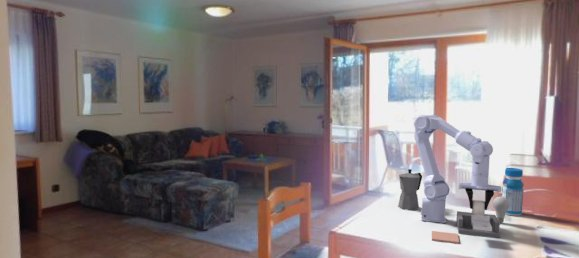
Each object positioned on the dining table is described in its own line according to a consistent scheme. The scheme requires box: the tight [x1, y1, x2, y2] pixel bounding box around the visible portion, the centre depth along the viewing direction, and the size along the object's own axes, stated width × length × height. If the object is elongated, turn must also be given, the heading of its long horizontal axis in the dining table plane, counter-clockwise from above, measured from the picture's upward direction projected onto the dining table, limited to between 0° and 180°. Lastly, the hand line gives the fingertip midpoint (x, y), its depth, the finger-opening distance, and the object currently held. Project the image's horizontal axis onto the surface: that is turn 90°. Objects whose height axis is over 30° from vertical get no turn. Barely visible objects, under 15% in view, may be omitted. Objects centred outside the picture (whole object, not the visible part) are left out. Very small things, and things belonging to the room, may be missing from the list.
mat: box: [431, 230, 460, 245], centre depth 148 cm, size 9×9×1 cm
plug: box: [471, 199, 486, 215], centre depth 155 cm, size 4×4×5 cm
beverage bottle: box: [501, 167, 525, 217], centre depth 180 cm, size 8×8×20 cm
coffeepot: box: [397, 168, 423, 211], centre depth 188 cm, size 15×9×18 cm, turn 125°
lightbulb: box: [492, 195, 510, 224], centre depth 166 cm, size 6×6×11 cm
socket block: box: [455, 210, 501, 239], centre depth 157 cm, size 14×13×5 cm
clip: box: [471, 214, 492, 232], centre depth 146 cm, size 6×8×3 cm
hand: (478, 208), depth 155 cm, fingers closed on plug, 4 cm apart
